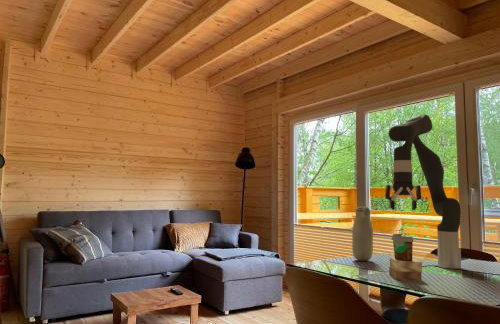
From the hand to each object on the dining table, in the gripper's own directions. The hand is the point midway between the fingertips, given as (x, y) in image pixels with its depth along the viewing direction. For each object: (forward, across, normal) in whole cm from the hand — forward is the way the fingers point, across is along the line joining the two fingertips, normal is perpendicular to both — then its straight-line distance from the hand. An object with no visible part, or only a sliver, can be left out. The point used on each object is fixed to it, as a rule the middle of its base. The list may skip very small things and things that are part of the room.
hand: (403, 209), depth 168 cm
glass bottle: (+28, +8, -40) cm, 49 cm away
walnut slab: (+28, 0, 0) cm, 29 cm away
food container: (+21, +2, +1) cm, 21 cm away
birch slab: (+24, 0, +1) cm, 25 cm away
